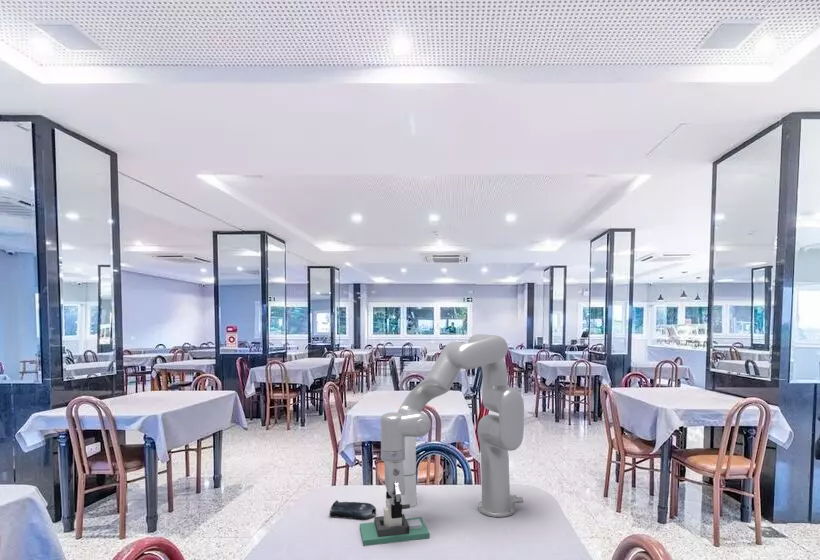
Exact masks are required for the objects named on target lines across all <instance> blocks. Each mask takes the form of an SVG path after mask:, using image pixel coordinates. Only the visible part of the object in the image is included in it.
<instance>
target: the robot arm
mask: <svg viewBox="0 0 820 560" xmlns="http://www.w3.org/2000/svg"><path fill="white" fill-rule="evenodd" d="M508 351H509V345H508V343H507V341H506V340H505V339H504V338H503V337H502V336H499V335H497V334H496V335H494V334H486V333H485V334H484V333H483V334H481V333H479V334H473V335H472V336H470V337H469V339H468V340H467V342H463V341H462V342H461V341H460V342H459V341H451V342H448V343H447V344H446V345H445V346H444V348H443V349H442V351H441V352H440V354H439V355H438V357H437V359H436V361H435V362H434V363H433V364H434V365H432V367H431V368H430V371H429V372H428V374H427V376H426V377H425V378H424V379H423V380H422V381H420V382H419V383H418V384H417V385H415V387H414V388H413V389H412V390H411V391H410V392H409V393H408V394H407V396H406V397H405V399H404V400H403V402H402V404H401V405H400V406H399V408H398V411H397V412H385V413H384V414H382V415H381V417H380V459H381V461H382V462H384V485H385V489H386V492H385V496H386V497H385V500H386V499H389V498H392V504H391V518H392V519H394V518H401V517H402V514H403V509H402V501H401V494H402V495H404V494H405V485H404V468H403V461H404V460H405V437H416V438H420V437H424V436H426V435H427V434H428V433H429V432H430V430H431V428H432V422H431V419H430V418H429V417H428V415H427V414H425V413H423V412H422V410H423V409H424V408H425V406H426V405H427V404H428V403H429V402H430V401H432V400H433V399H435V398H438V397H440V396H442V395H444V394H446V393H448V392H449V391H450V389H451V387H452V385H453V384H454V382H455V380H456V379H457V377H458V375H459V373H460V372H461V370H473V369H477V368H481V370H482V371H481V372H482V391H481V396H482V398H481V401H482V406H483V407H484V408H485V409H487V410H488V411H490V412H493V413H496V414H498V415H496V414H486V415H484V416H482V417H481V418H480V420H479V421H478V424H477V437H478V441H479V447H480V470H481V471H480V472H481V474H480V475H481V480H480V481H481V500H480V501H479V502H477V510H478V511H479V512H480V513H481V514H483V515H485V516H489V517H494V518H504V517H505V518H506V517H508V516H512V515H513V514H514V513H515V512H516V511H515V510H516V506H515V505H516V504H521V503H524V502H525V501H524V497H523V496H517V495H516V494H512V495H511V491H510V490H511V489H510V488H511V487H510V457H509V452H512V451H513V452H514V451H516V450H518V449H519V448H520V447H521V445H522V442H523V439H524V429H525V426H524V425H525V403H524V399H523V396H522V394H521V393H520V391H519V390H518V389H517V388H514V387H512V386H508V385H509V384H508V369H507V364H506V361H505V359H504V358H505V357H506V356H507V354H508ZM400 492H401V493H400ZM394 498H395V499H394Z"/></svg>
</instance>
